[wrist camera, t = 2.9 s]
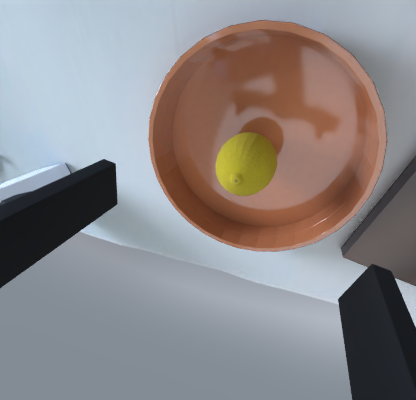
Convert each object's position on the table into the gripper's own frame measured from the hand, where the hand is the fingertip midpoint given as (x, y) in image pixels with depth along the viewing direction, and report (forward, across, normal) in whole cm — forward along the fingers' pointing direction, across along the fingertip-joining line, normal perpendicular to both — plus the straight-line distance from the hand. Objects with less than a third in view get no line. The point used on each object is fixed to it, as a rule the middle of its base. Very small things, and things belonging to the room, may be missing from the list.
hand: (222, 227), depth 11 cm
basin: (+15, -1, -1) cm, 15 cm away
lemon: (+15, -1, -1) cm, 15 cm away
